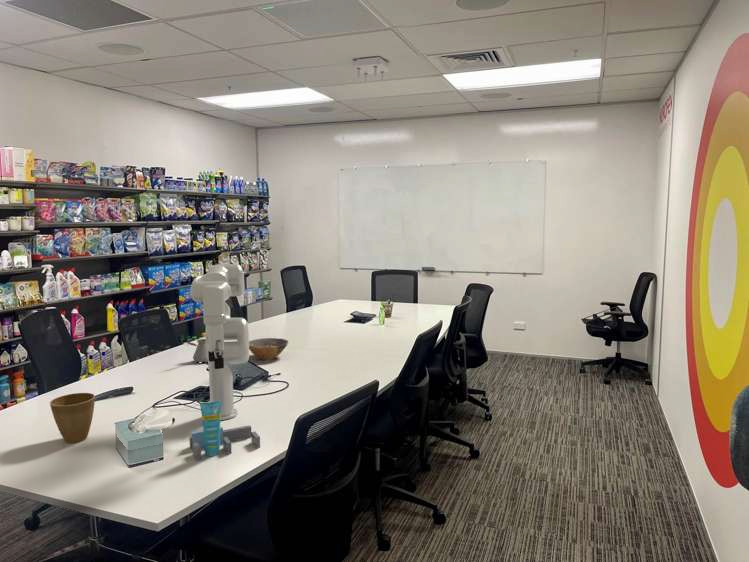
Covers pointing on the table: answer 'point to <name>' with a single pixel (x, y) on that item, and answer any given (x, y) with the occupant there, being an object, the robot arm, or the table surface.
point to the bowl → (267, 347)
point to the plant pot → (73, 415)
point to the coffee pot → (200, 351)
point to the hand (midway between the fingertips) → (216, 364)
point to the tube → (211, 426)
